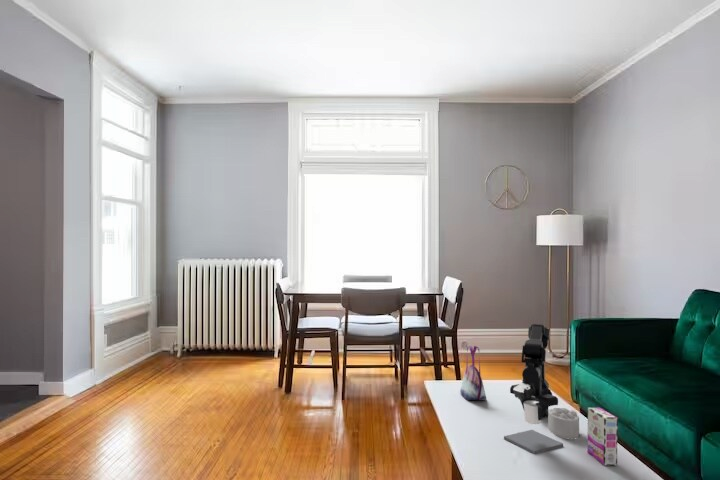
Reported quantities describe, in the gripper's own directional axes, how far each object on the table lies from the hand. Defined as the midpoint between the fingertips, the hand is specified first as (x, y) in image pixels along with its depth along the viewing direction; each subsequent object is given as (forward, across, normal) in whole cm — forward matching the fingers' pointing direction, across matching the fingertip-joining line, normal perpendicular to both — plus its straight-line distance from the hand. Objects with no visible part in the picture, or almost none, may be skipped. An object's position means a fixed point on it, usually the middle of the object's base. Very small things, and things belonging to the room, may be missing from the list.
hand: (533, 417), depth 184 cm
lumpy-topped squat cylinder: (+10, -1, +19) cm, 21 cm away
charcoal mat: (+10, 0, 0) cm, 10 cm away
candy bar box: (+10, +21, +11) cm, 26 cm away
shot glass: (+2, 0, 0) cm, 2 cm away
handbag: (+10, -53, +16) cm, 56 cm away
